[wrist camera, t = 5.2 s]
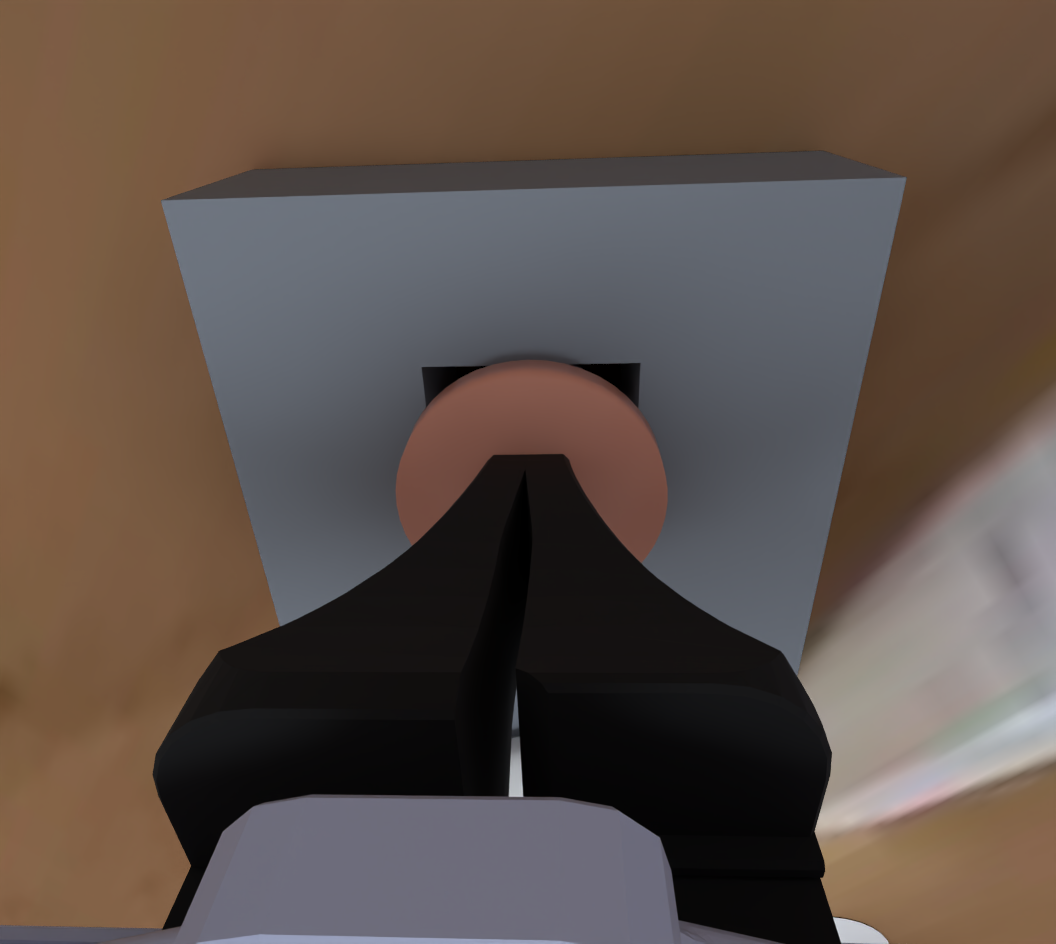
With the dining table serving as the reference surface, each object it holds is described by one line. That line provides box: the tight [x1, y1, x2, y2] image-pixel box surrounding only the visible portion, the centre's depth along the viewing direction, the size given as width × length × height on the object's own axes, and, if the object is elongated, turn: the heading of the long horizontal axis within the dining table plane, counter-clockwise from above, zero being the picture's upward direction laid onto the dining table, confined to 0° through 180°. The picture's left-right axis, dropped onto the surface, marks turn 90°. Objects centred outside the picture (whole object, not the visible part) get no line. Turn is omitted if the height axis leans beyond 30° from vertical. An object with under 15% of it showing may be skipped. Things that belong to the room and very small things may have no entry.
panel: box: [161, 151, 907, 736], centre depth 18 cm, size 12×20×4 cm, turn 2°
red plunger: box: [396, 360, 668, 563], centre depth 14 cm, size 5×5×4 cm
